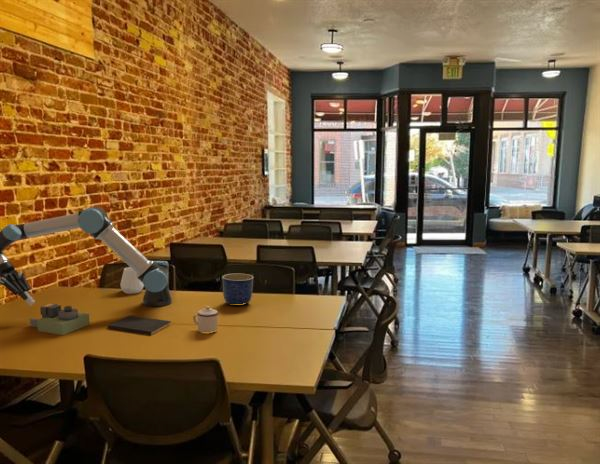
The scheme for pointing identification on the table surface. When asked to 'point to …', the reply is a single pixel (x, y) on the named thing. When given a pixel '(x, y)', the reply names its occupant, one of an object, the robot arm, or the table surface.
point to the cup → (130, 282)
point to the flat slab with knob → (62, 322)
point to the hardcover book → (138, 325)
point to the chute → (50, 310)
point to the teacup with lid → (206, 319)
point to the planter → (237, 288)
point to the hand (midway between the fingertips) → (32, 303)
